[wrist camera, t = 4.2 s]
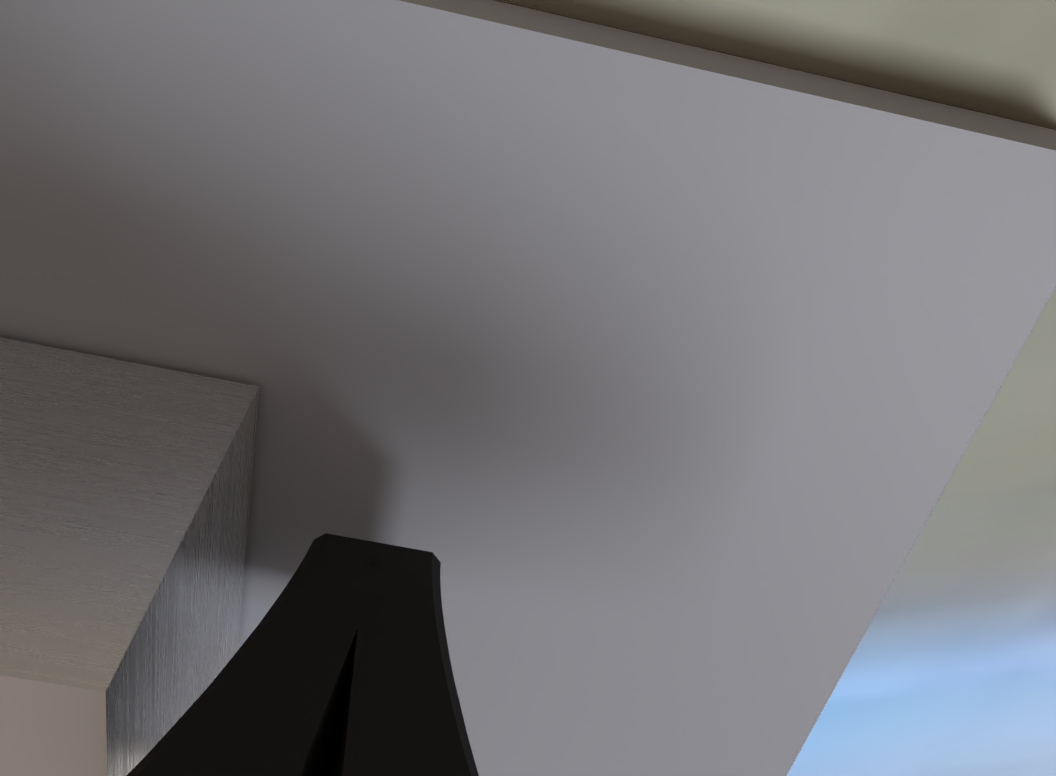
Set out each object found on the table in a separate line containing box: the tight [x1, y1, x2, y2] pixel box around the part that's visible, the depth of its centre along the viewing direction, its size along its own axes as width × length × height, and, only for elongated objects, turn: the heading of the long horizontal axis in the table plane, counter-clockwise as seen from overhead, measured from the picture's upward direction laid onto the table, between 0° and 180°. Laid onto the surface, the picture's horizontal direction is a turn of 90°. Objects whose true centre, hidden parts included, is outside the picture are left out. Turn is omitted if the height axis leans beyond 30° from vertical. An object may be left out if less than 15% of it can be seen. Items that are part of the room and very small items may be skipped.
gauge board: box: [0, 0, 1056, 776], centre depth 9 cm, size 12×18×6 cm, turn 78°
